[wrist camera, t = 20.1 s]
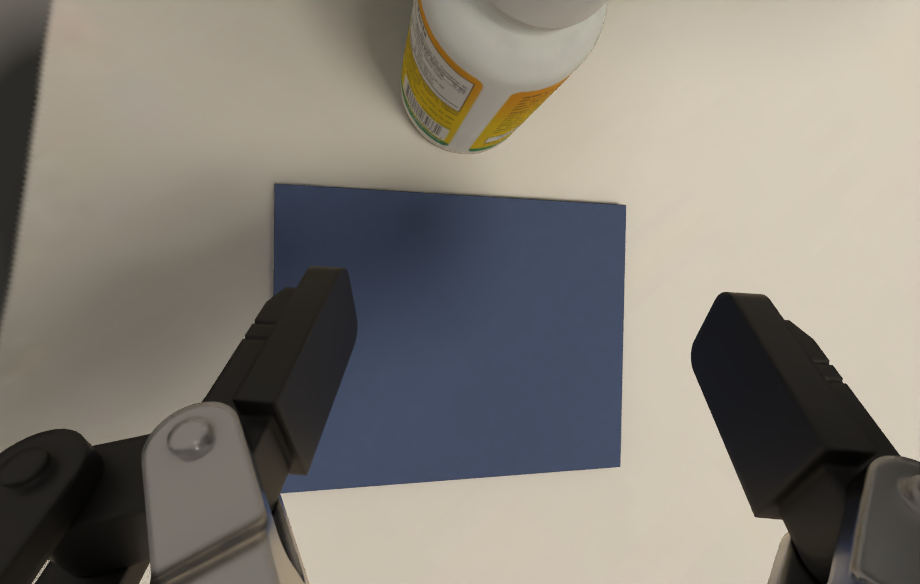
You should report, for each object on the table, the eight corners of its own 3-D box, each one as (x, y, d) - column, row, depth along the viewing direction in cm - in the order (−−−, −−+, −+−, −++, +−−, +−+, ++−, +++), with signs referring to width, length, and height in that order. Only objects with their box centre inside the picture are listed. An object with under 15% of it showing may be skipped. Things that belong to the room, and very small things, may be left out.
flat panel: (276, 185, 17) (274, 183, 17) (621, 206, 20) (626, 204, 20) (273, 489, 17) (271, 494, 17) (615, 463, 20) (620, 467, 20)
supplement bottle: (389, 140, 18) (413, -18, 9) (411, 13, 18) (458, -280, 9) (512, 169, 19) (653, 59, 10) (532, 50, 19) (690, -175, 10)
